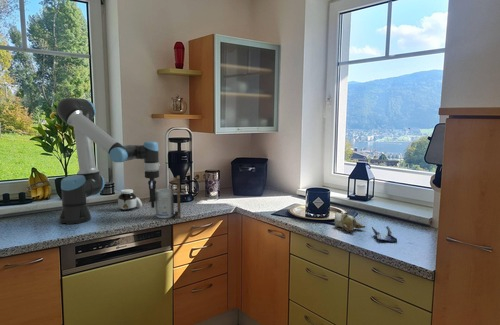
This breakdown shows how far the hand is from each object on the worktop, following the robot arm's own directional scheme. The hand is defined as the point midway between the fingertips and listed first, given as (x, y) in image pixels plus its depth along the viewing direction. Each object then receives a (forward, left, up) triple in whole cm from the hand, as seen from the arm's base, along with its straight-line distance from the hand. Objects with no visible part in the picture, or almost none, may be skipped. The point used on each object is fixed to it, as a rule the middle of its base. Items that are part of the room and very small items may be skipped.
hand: (153, 212), depth 202 cm
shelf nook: (+12, 0, -3) cm, 12 cm away
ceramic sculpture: (+95, -39, -3) cm, 103 cm away
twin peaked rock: (+105, -56, -3) cm, 119 cm away
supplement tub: (+6, +1, -3) cm, 7 cm away
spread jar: (-14, +22, -3) cm, 27 cm away
